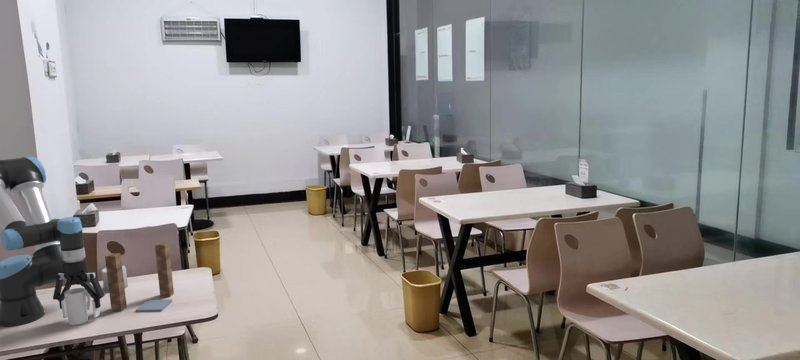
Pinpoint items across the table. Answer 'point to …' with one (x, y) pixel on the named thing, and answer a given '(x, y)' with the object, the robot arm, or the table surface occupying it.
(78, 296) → the mug
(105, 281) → the toilet tissue
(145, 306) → the mat
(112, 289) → the corner post
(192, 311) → the table surface
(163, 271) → the far post
